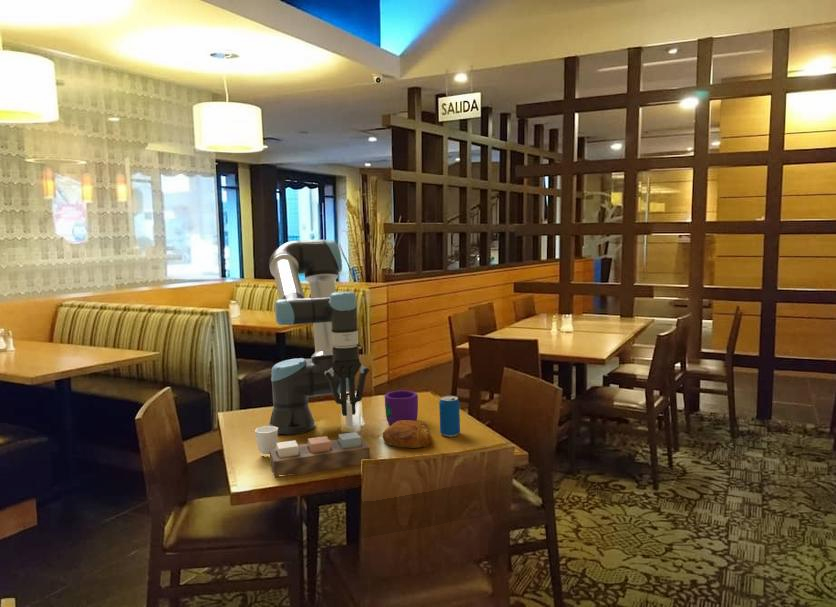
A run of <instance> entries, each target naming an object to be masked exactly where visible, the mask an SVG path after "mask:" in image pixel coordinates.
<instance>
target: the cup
mask: <svg viewBox="0 0 836 607" xmlns="http://www.w3.org/2000/svg"><path fill="white" fill-rule="evenodd" d="M254 435H255V440H256V444H257V448H258V451H259V453H260V454H270V451H269V449H272V448H277V445H276V443H278V436H279V435H278V427H275V426H269V425H264V426H260V427H256V428H255V430H254Z"/></svg>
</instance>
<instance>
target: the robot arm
mask: <svg viewBox="0 0 836 607" xmlns="http://www.w3.org/2000/svg"><path fill="white" fill-rule="evenodd" d="M342 262H343V261H342V254H341V251H340V248H339V245H338V244H337V242H336V241H335V240H333V239H311V240H307V239H306V240H291V241H287V242H285V243H282V245H280V246H278V247H277V248H276V249H275V250H274V251H273V253H272V254H271V256H270V258H269V263H268V265H269V267H268V268H269V271H270V274H271V276H272V277H274V280H275V285H276V290H277V294H278V300H276V301H275V303H274V314H275V322H276V324H277V325H279V326H292V325H293V326H294V325H295V326H296V325H305V324H306V325H307V324H312V325H313V326H312V327H313V337H314V338H313V339H314V353H313V354H312V355H311V358H310V359H311V361H310V362H307V360H306V358H303V357H299V358H297V357H296V358H291V359H285V360H282V361H279V362H277V363H275V364H274V365H273V366H272V368H271V377H270V378H271V379H270V381H271V386H272V388H271V389H272V404H273V408H272V412H271V416H270V419H269V423H268V424H269V425H268V426H275V427H278V434H294V435H298V434H297V433H300V434H303V433H302V432H304V433H306V432H305V431H308V430H310V431H312V430H313V429H315V419H314V416H313V415H312V411H311V408H310V405H309V398H310V397H319V396H320V397H321V396H329V395H331V396H333V400H334V402H335V403H336V404H337V405H341V406H340V408H341V415H342V416H343V417H345V426H346V427H347V428H353V427H354V425H353V424H354V423H353V422H354V421H353V415H356V411H357V410H356V404H357V403H358V402H361V401H362V398H363V393H364V388H365V384H366V377H367V375H368V373H369V372H370V369H369V368H368V367H367V366H364V365H362V363H361V361H360V347H359V346H358V344H359V332H358V330H359V329H358V327H359V326H358V302H357V295H356V293H355V292H354V291H336V285H335V284H336V283H335V282H336V280H337V279H338V278H339V273H341V272H342V270H343V264H342ZM299 275H304V280H305V281H307V283H308V284H309V290H310V292H309V293H310V297H307V298H306V297H305V294H304V291H303V286H302V284H301V281H300V276H299ZM358 372H359V378H358V381H357V382H358V383H357V386H355V385H356V384H355V381H356V379H355V378H356V376H357V374H358ZM347 391H348V392H349V393H348V397H349V399H348V398H347ZM339 394H340V396H339ZM347 399H348V400H349V402H347ZM312 428H313V429H312ZM311 429H312V430H311ZM308 432H309V431H308Z"/></svg>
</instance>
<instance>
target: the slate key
mask: <svg viewBox="0 0 836 607" xmlns="http://www.w3.org/2000/svg"><path fill="white" fill-rule="evenodd" d="M360 436H361V435H360V434H359V433H358V432H357V431H354V432H348V433H347V432H346V433H339V434H338V439H339V445H340V447H341V448H342V449H343V448H350V447H357V446H361V438H362V436H361V437H360Z"/></svg>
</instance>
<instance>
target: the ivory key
mask: <svg viewBox="0 0 836 607" xmlns="http://www.w3.org/2000/svg"><path fill="white" fill-rule="evenodd" d="M298 445H299V444H298V443H297V441H296V439H295V440H289V441H288V440H287V441H279V442H277V443H276V448H277V457H278V458H281V457H288V456H295V455H299V450H298Z"/></svg>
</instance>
